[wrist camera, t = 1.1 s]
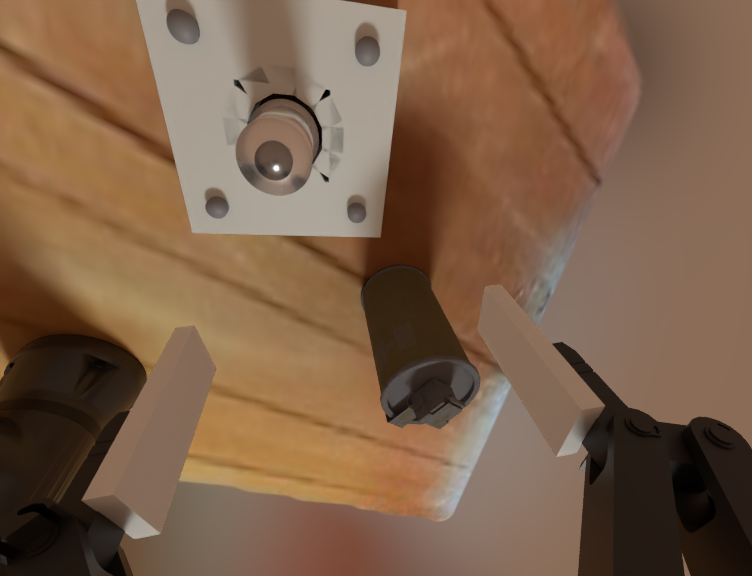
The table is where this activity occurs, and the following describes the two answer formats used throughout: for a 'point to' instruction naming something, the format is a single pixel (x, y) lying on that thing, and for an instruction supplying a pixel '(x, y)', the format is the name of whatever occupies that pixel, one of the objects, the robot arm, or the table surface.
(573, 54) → the table surface
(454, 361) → the canister
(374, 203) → the bearing plate
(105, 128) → the table surface
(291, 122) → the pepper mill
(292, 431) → the table surface
